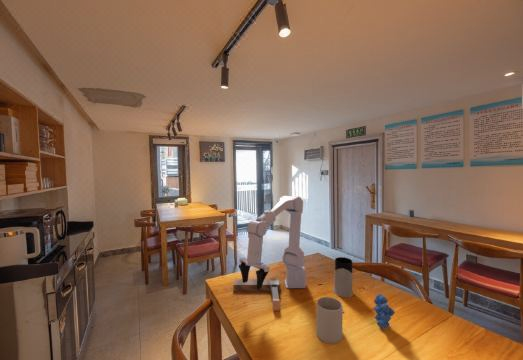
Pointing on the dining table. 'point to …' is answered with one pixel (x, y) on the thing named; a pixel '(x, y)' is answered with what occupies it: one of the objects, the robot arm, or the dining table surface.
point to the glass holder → (343, 277)
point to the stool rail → (255, 285)
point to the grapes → (382, 311)
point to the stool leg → (275, 298)
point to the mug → (329, 320)
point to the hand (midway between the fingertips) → (251, 285)
